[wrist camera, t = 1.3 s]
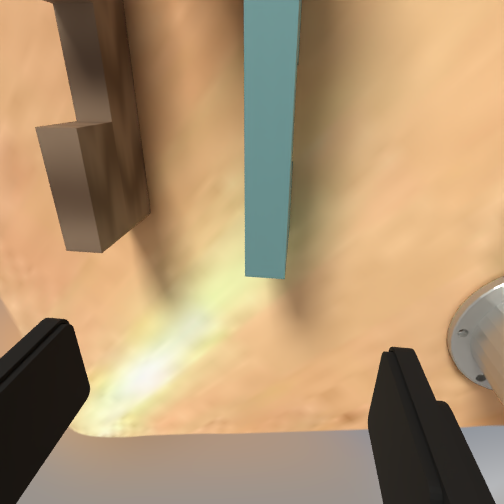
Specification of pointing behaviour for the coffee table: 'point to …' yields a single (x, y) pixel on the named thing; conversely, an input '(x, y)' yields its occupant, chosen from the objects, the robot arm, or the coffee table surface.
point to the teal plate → (269, 130)
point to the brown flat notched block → (96, 130)
